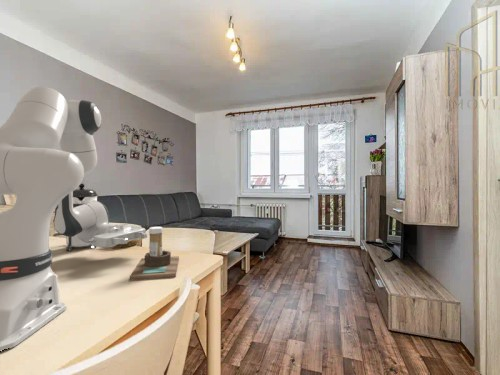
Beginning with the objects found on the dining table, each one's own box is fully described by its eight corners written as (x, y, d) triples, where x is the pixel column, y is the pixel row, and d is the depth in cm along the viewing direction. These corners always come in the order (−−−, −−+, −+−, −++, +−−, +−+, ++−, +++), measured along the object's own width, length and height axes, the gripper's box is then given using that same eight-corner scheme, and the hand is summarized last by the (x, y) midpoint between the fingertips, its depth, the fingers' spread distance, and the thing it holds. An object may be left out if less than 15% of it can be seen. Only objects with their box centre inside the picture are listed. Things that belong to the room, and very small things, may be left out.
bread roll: (138, 242, 127) (138, 227, 127) (139, 247, 118) (139, 230, 118) (109, 245, 121) (109, 228, 121) (108, 250, 113) (108, 232, 112)
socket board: (175, 276, 82) (175, 262, 82) (129, 280, 79) (129, 265, 79) (178, 259, 100) (178, 247, 100) (141, 261, 97) (141, 249, 97)
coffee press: (109, 244, 123) (109, 183, 122) (78, 253, 107) (78, 183, 107) (83, 241, 128) (83, 183, 127) (50, 249, 113) (49, 183, 112)
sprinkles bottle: (165, 263, 91) (165, 227, 91) (154, 267, 87) (154, 229, 87) (157, 261, 94) (157, 225, 93) (146, 264, 90) (146, 227, 90)
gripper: (85, 232, 91) (112, 236, 86) (131, 223, 110) (155, 226, 105) (85, 249, 91) (112, 254, 86) (131, 237, 110) (155, 241, 105)
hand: (136, 238), depth 95 cm, fingers open, 8 cm apart
